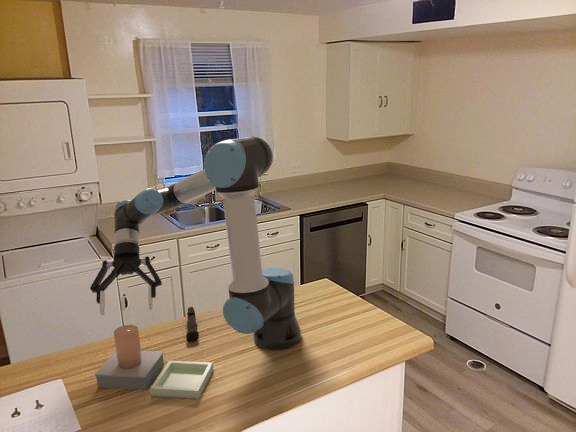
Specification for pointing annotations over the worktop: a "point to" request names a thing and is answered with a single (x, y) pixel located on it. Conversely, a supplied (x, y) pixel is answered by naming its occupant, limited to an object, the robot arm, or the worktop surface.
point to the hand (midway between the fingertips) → (126, 310)
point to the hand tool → (191, 326)
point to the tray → (182, 380)
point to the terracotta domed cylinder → (128, 346)
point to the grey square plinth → (130, 372)
